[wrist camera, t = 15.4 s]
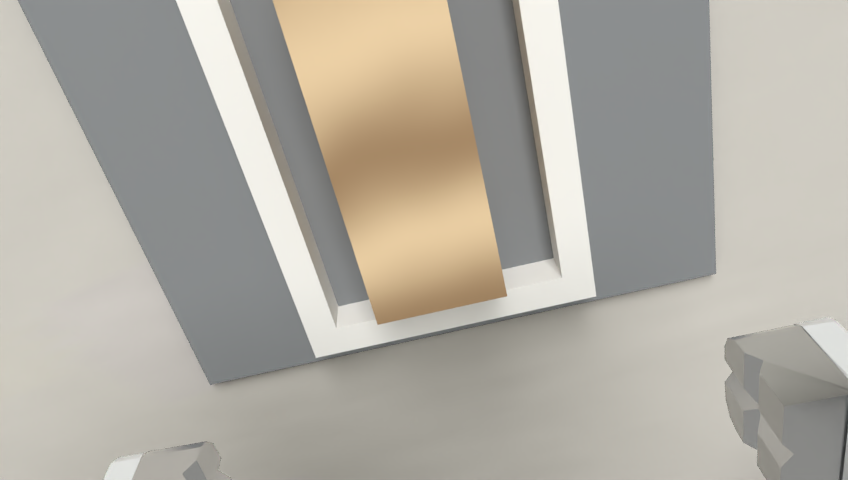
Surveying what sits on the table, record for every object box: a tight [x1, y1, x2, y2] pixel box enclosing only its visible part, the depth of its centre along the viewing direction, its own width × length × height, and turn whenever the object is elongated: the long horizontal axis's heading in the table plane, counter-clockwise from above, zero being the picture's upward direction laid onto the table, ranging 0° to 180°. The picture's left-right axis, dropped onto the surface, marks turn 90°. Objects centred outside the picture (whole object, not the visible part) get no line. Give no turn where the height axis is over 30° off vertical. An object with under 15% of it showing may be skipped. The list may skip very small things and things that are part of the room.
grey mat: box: [18, 0, 716, 385], centre depth 24 cm, size 22×21×2 cm
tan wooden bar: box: [273, 0, 507, 325], centre depth 23 cm, size 12×4×4 cm, turn 13°
